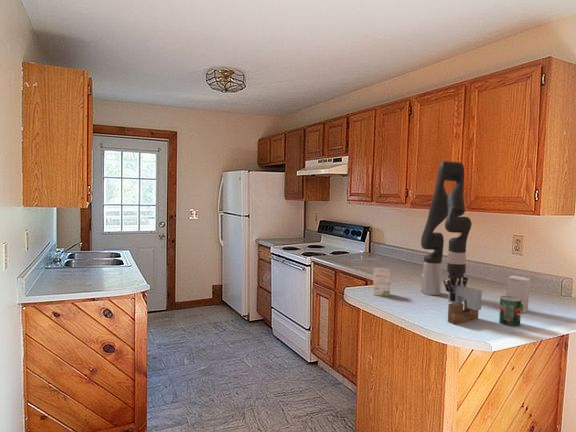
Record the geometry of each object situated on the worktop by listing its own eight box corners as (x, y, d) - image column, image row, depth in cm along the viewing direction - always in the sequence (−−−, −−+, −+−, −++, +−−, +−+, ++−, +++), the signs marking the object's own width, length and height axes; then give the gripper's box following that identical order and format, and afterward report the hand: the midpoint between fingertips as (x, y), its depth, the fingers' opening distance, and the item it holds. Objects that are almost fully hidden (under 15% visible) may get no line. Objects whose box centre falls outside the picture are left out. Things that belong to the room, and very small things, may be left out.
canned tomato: (523, 327, 166) (524, 301, 165) (502, 326, 167) (504, 300, 167) (515, 321, 174) (517, 296, 173) (496, 320, 175) (497, 295, 174)
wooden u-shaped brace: (447, 322, 172) (448, 303, 171) (472, 316, 179) (472, 299, 179) (453, 324, 169) (454, 305, 168) (478, 318, 177) (478, 300, 176)
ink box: (389, 294, 217) (390, 266, 216) (389, 296, 212) (390, 268, 211) (373, 292, 219) (374, 265, 218) (372, 295, 215) (373, 267, 214)
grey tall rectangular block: (448, 302, 179) (448, 284, 179) (452, 301, 181) (453, 283, 180) (476, 310, 167) (477, 291, 166) (481, 309, 168) (481, 290, 168)
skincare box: (504, 309, 191) (506, 277, 190) (509, 306, 195) (511, 275, 194) (524, 313, 185) (526, 280, 184) (529, 310, 189) (530, 278, 188)
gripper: (459, 259, 183) (458, 296, 184) (438, 261, 176) (437, 300, 177) (474, 262, 177) (472, 300, 178) (453, 264, 170) (451, 305, 171)
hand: (455, 300), depth 178 cm, fingers closed on grey tall rectangular block, 3 cm apart
